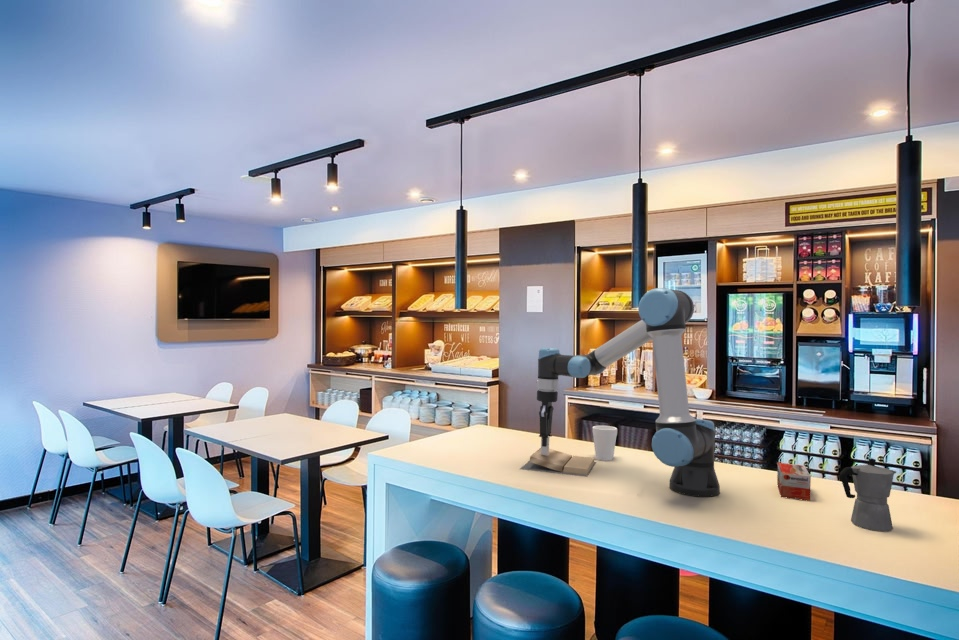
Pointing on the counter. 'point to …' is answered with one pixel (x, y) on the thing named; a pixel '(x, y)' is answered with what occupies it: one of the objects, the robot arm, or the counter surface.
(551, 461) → the plank
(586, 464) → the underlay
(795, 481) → the medicine box
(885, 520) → the coffeepot
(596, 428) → the foam cup
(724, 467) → the counter surface
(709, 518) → the counter surface
